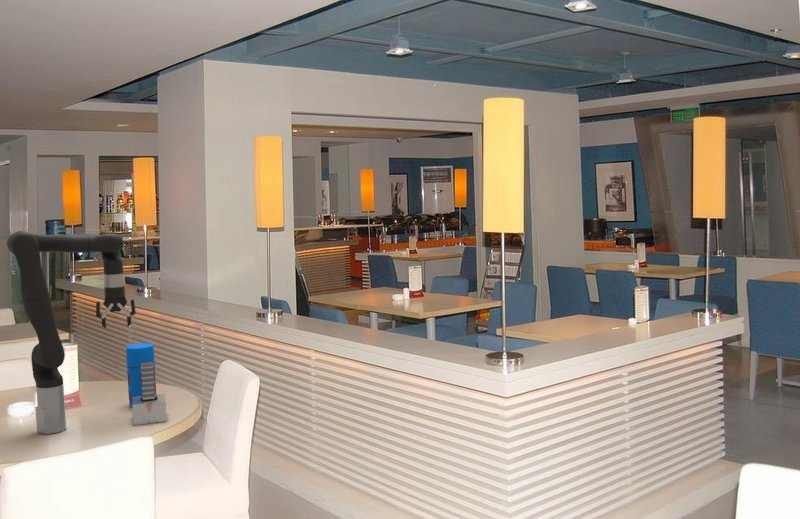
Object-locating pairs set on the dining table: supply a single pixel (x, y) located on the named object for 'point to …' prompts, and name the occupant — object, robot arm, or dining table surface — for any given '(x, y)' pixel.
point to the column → (147, 381)
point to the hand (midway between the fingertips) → (116, 326)
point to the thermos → (138, 367)
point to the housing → (149, 410)
